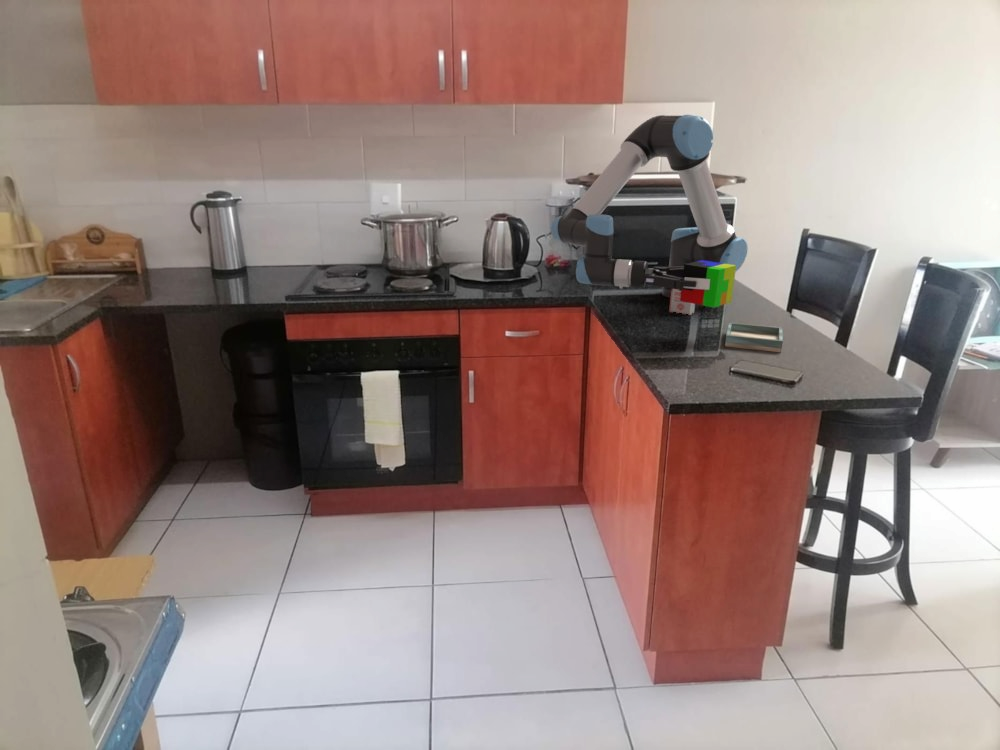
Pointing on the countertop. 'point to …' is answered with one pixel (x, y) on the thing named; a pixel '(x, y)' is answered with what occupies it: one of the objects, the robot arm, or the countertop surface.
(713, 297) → the puzzle toy
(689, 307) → the tea bag
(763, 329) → the shallow tray
